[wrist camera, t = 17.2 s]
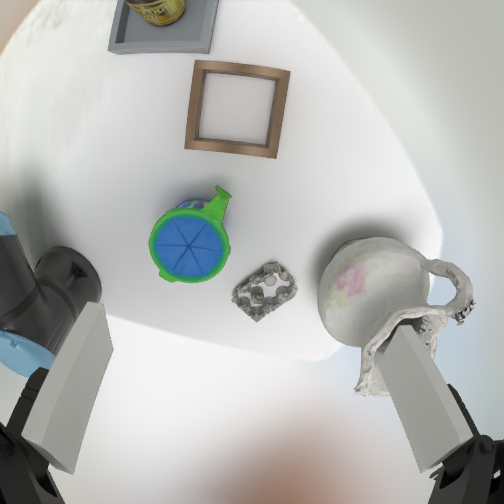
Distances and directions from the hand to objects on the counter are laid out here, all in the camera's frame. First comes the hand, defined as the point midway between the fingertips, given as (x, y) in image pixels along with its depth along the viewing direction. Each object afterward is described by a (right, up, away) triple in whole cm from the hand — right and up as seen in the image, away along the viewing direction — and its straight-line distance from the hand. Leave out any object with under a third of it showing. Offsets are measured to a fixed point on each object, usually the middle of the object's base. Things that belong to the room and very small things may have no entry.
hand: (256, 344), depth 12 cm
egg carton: (+2, -2, +41) cm, 41 cm away
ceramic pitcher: (+20, +2, +39) cm, 44 cm away
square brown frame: (-2, +24, +26) cm, 36 cm away
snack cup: (-9, +9, +34) cm, 37 cm away
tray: (-12, +39, +18) cm, 44 cm away
